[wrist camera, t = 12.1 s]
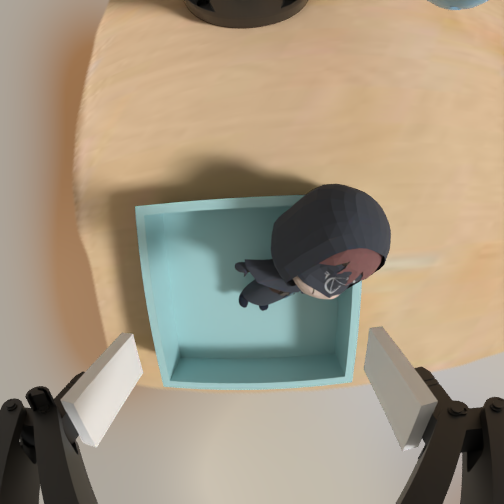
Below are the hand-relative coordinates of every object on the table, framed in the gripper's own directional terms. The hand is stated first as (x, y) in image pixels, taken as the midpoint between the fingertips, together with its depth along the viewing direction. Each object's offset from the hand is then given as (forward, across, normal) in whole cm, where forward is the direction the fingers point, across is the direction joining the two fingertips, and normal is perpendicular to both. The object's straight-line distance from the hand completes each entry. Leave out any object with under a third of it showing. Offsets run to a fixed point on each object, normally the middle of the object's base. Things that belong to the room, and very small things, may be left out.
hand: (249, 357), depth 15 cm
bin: (+15, 0, -1) cm, 15 cm away
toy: (+13, -1, -2) cm, 13 cm away
